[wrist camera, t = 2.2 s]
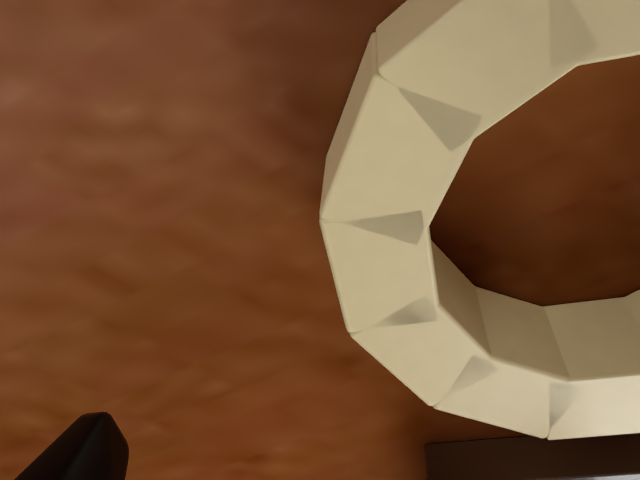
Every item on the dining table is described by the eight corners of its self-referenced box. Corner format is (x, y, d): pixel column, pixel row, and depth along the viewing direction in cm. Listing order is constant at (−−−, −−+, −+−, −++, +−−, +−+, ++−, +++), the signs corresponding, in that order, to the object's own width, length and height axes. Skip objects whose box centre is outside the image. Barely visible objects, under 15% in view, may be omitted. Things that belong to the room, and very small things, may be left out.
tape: (375, 379, 17) (377, 454, 15) (280, -36, 11) (260, -5, 9) (810, 334, 15) (880, 414, 13) (974, -191, 9) (1148, -196, 7)
